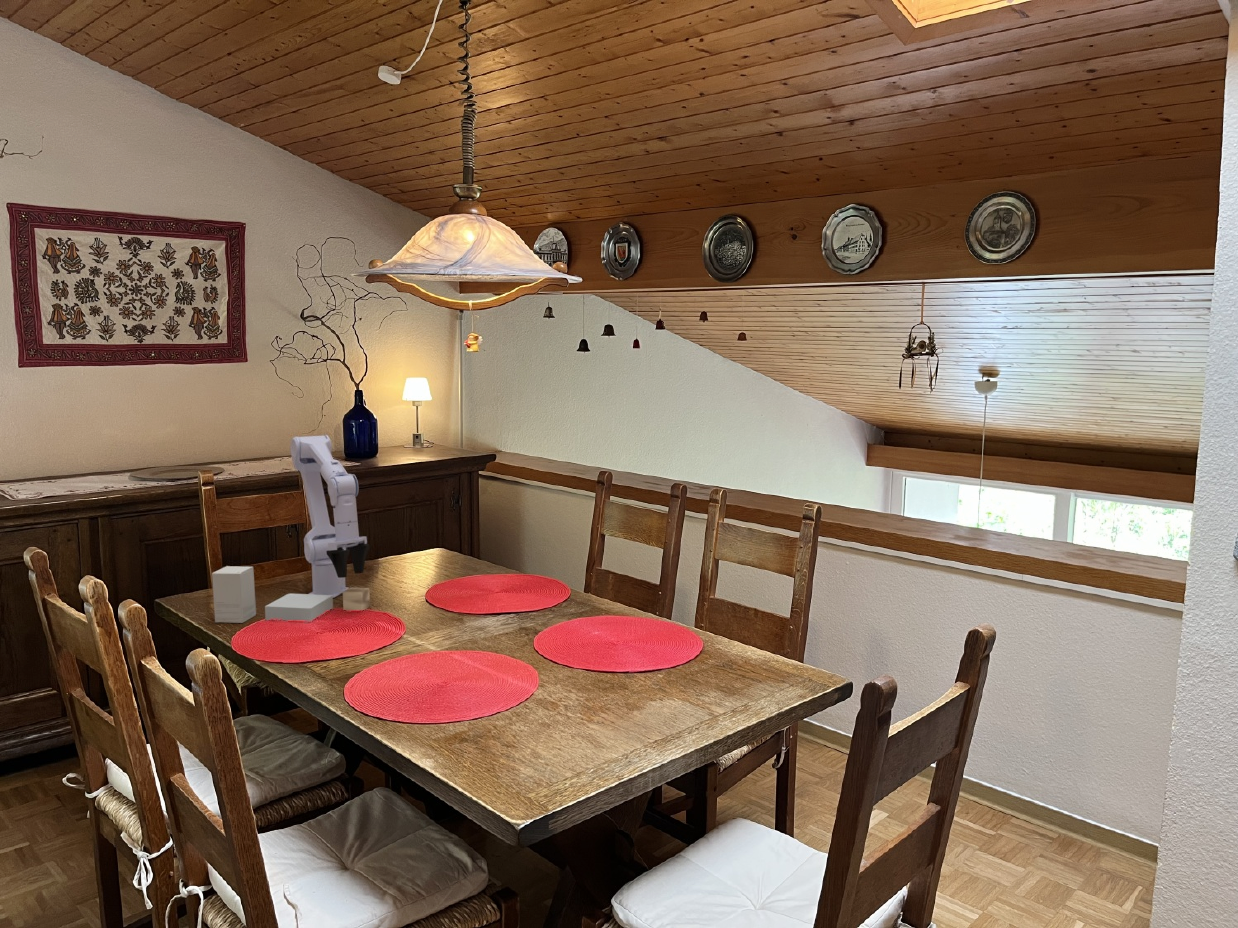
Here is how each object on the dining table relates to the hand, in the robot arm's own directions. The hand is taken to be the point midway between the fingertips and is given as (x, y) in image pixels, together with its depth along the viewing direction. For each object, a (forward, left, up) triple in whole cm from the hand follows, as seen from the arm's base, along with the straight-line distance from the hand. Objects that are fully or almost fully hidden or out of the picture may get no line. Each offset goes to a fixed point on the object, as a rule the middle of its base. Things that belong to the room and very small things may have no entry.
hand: (350, 575), depth 234 cm
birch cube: (-1, +1, -9) cm, 9 cm away
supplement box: (+12, -25, -9) cm, 29 cm away
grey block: (+6, -11, -10) cm, 16 cm away
